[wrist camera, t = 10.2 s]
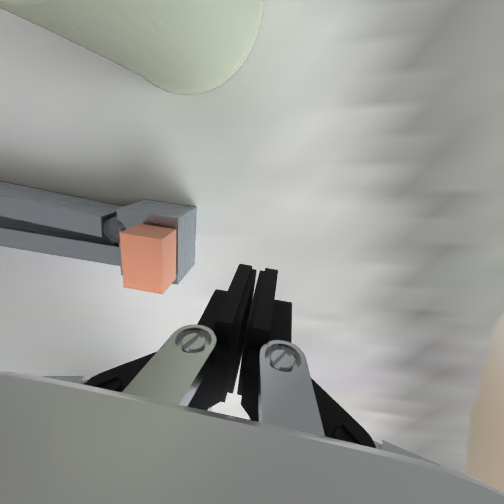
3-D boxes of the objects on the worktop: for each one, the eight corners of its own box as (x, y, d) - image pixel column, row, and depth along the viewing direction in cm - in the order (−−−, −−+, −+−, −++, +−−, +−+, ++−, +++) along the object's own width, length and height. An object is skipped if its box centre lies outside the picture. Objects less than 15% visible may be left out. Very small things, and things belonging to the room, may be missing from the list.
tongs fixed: (196, 207, 19) (178, 218, 16) (194, 264, 21) (177, 284, 18) (-86, 165, 21) (-152, 168, 18) (-67, 221, 23) (-124, 232, 20)
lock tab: (176, 229, 16) (161, 239, 14) (175, 278, 17) (162, 294, 16) (138, 223, 16) (119, 232, 15) (140, 272, 18) (123, 287, 16)
